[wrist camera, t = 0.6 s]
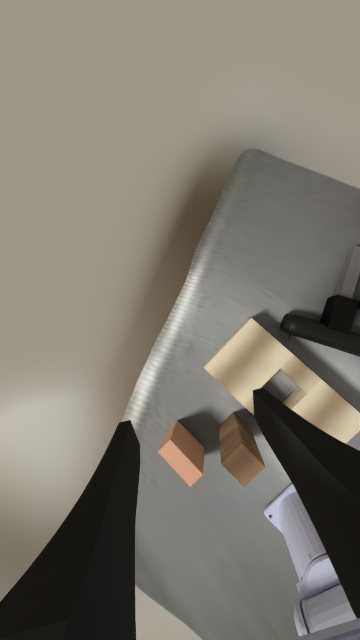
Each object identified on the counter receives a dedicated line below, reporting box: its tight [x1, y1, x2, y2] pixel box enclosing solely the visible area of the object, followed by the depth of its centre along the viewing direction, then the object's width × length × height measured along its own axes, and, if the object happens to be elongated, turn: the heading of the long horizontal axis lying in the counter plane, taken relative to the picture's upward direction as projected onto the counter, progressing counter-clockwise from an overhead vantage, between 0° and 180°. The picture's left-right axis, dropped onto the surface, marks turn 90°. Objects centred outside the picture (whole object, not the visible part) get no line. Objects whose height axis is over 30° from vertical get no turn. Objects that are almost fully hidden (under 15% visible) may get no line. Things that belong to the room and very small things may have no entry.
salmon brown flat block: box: [158, 420, 204, 487], centre depth 30 cm, size 6×2×6 cm, turn 47°
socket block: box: [204, 318, 360, 444], centre depth 30 cm, size 20×10×3 cm, turn 47°
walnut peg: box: [219, 412, 265, 487], centre depth 28 cm, size 3×3×9 cm
